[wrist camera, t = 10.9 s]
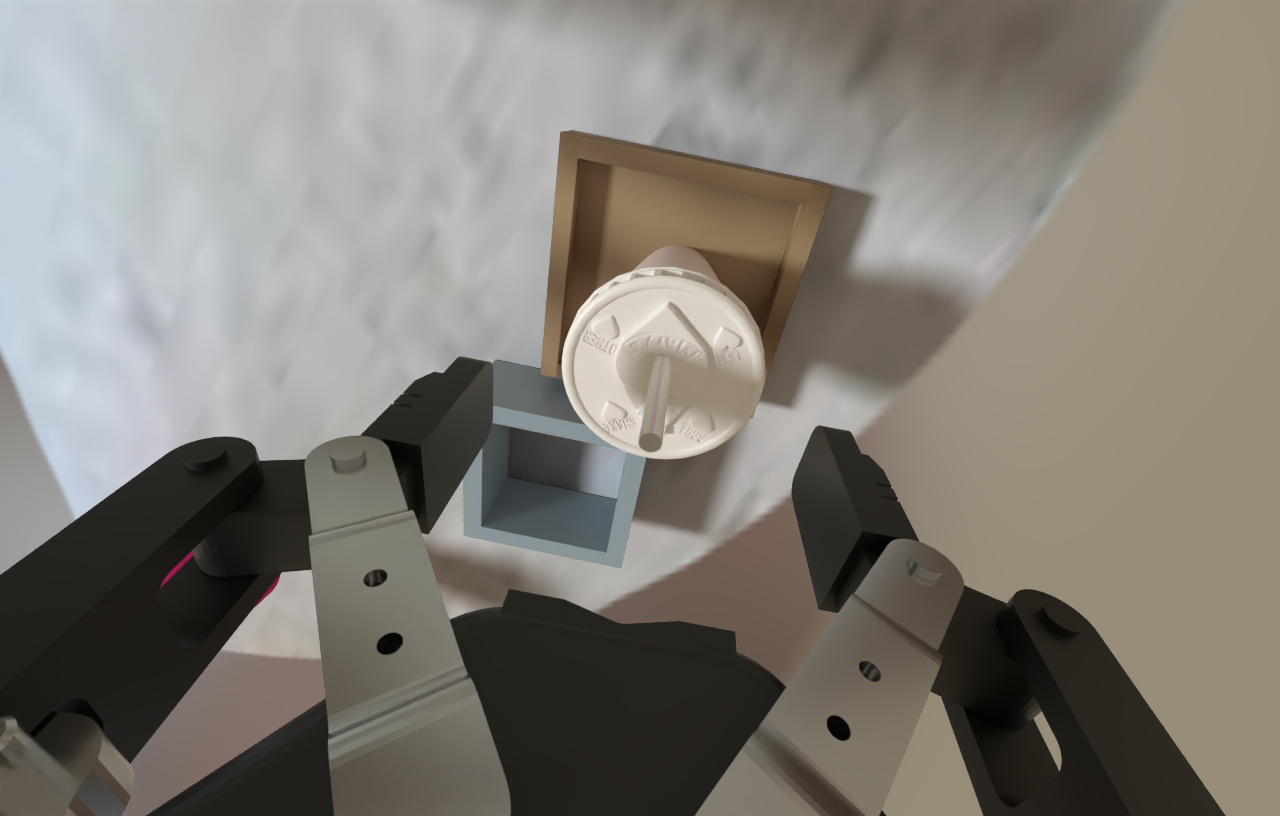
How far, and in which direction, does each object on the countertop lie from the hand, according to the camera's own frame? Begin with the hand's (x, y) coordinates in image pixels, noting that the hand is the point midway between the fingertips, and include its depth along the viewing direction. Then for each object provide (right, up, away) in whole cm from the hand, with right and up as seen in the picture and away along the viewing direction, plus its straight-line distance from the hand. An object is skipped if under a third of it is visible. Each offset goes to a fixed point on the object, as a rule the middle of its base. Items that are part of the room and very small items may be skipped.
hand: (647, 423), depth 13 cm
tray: (+1, +7, +12) cm, 14 cm away
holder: (-4, -2, +18) cm, 18 cm away
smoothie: (+2, +6, +11) cm, 13 cm away
